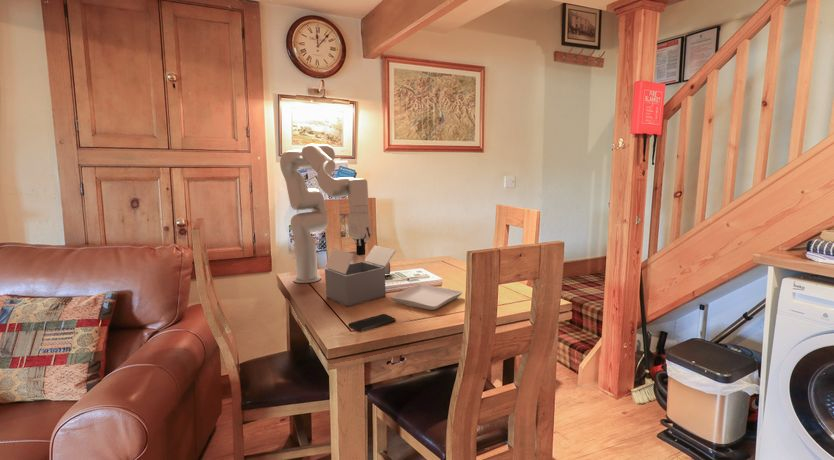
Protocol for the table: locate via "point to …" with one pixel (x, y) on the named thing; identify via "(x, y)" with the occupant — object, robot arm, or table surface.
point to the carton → (356, 284)
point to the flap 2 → (380, 255)
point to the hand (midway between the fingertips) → (361, 254)
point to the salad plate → (425, 296)
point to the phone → (372, 322)
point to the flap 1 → (339, 261)
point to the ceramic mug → (386, 268)
